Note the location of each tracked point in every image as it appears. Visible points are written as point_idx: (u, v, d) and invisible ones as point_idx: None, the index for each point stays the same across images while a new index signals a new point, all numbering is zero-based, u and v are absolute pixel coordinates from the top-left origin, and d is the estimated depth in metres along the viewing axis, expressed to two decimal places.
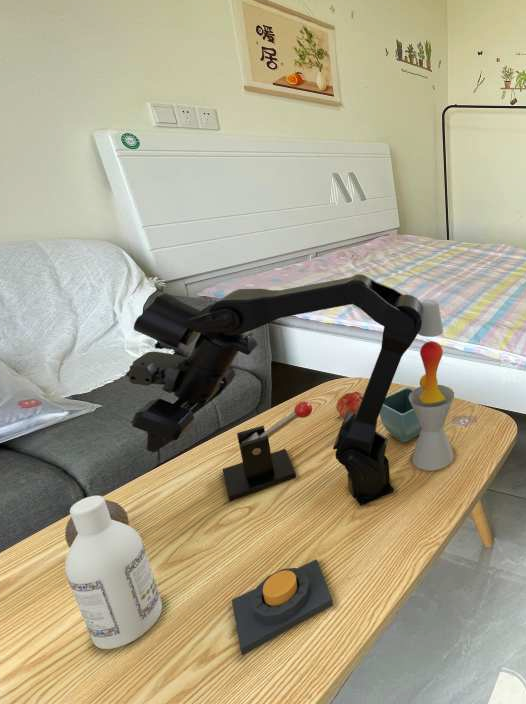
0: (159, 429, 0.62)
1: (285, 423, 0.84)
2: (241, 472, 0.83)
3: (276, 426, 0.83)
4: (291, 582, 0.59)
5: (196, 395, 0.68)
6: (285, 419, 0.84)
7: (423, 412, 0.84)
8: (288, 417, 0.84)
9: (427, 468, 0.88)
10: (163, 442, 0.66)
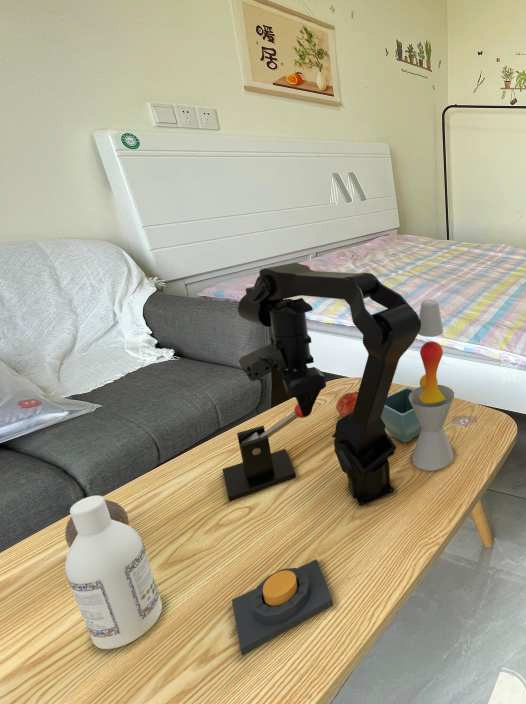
0: (311, 385, 0.76)
1: (285, 423, 0.84)
2: (241, 472, 0.83)
3: (276, 426, 0.83)
4: (291, 582, 0.59)
5: (304, 359, 0.81)
6: (285, 419, 0.84)
7: (423, 412, 0.84)
8: (288, 417, 0.84)
9: (427, 468, 0.88)
10: (312, 401, 0.81)
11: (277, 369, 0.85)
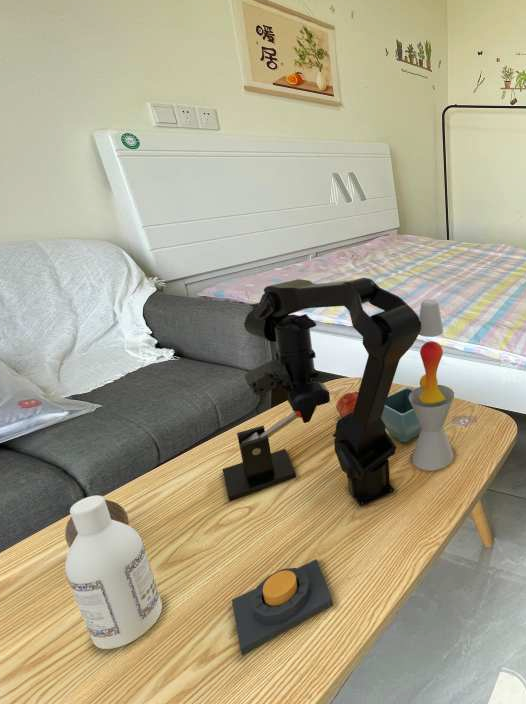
0: (315, 400, 0.77)
1: (285, 423, 0.84)
2: (241, 472, 0.83)
3: (276, 426, 0.83)
4: (291, 582, 0.59)
5: (308, 373, 0.82)
6: (285, 419, 0.84)
7: (423, 412, 0.84)
8: (288, 417, 0.84)
9: (427, 468, 0.88)
10: (312, 408, 0.84)
11: (285, 389, 0.85)
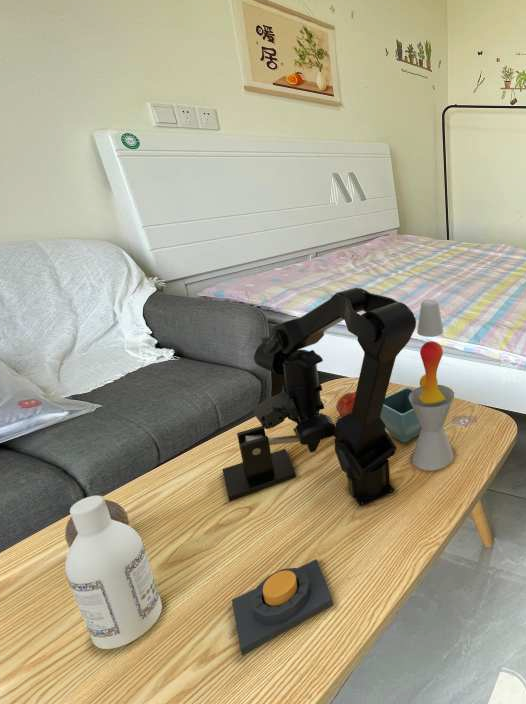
0: (322, 434, 0.80)
1: (290, 441, 0.86)
2: (241, 472, 0.83)
3: (282, 438, 0.85)
4: (291, 582, 0.59)
5: (315, 406, 0.85)
6: (292, 437, 0.86)
7: (423, 412, 0.84)
8: (295, 436, 0.86)
9: (427, 468, 0.88)
10: None
11: (292, 420, 0.87)
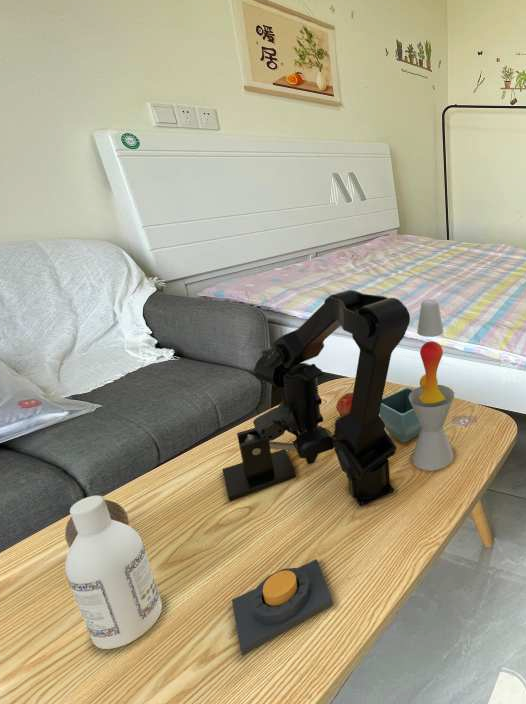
0: (321, 447, 0.81)
1: (287, 448, 0.86)
2: (241, 472, 0.83)
3: (281, 444, 0.85)
4: (291, 582, 0.59)
5: (314, 419, 0.85)
6: (290, 444, 0.86)
7: (423, 412, 0.84)
8: (293, 445, 0.87)
9: (427, 468, 0.88)
10: None
11: (291, 432, 0.88)
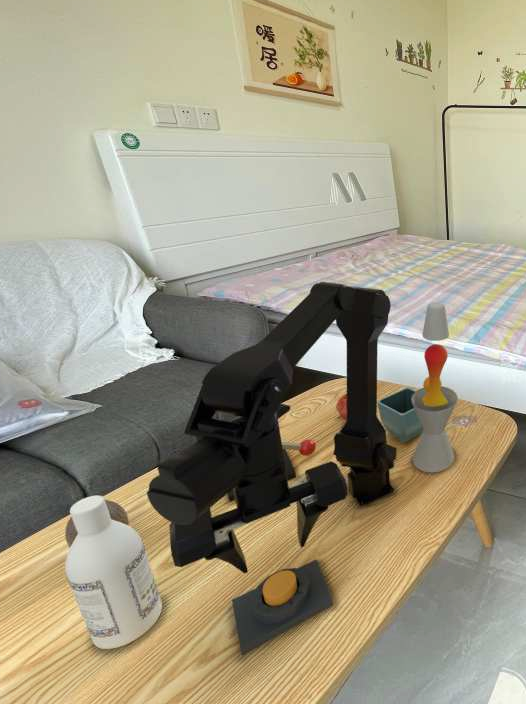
0: None
1: (288, 447, 0.86)
2: None
3: None
4: (291, 582, 0.59)
5: (240, 508, 0.52)
6: (290, 444, 0.86)
7: (424, 415, 0.83)
8: (294, 444, 0.87)
9: (426, 470, 0.88)
10: None
11: None
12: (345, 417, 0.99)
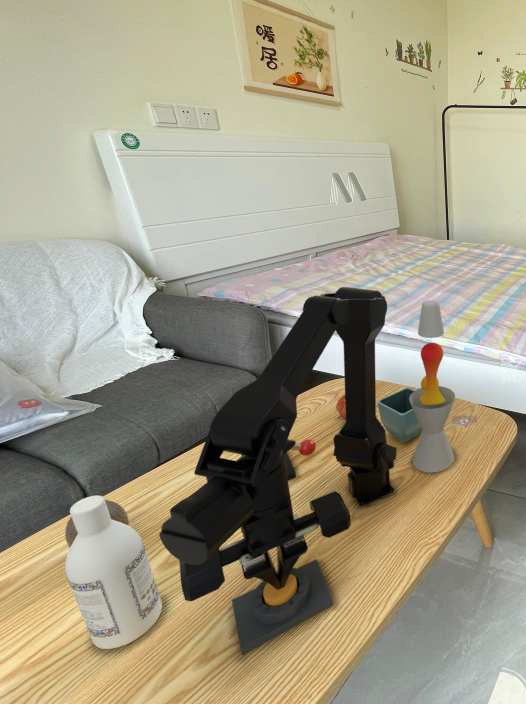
0: None
1: None
2: None
3: None
4: (292, 585, 0.60)
5: (247, 541, 0.53)
6: None
7: (422, 414, 0.84)
8: None
9: (426, 470, 0.88)
10: None
11: None
12: (345, 417, 0.99)
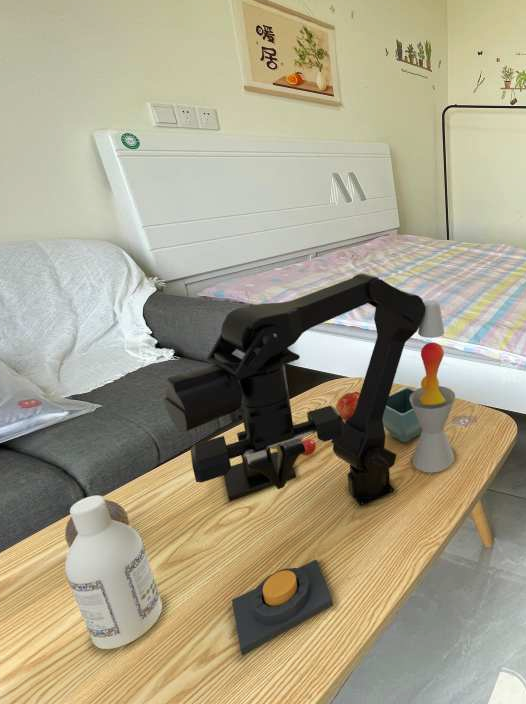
0: None
1: None
2: (241, 472, 0.83)
3: None
4: (291, 582, 0.59)
5: (251, 437, 0.60)
6: None
7: (422, 414, 0.84)
8: None
9: (426, 470, 0.88)
10: None
11: None
12: (345, 417, 0.99)
